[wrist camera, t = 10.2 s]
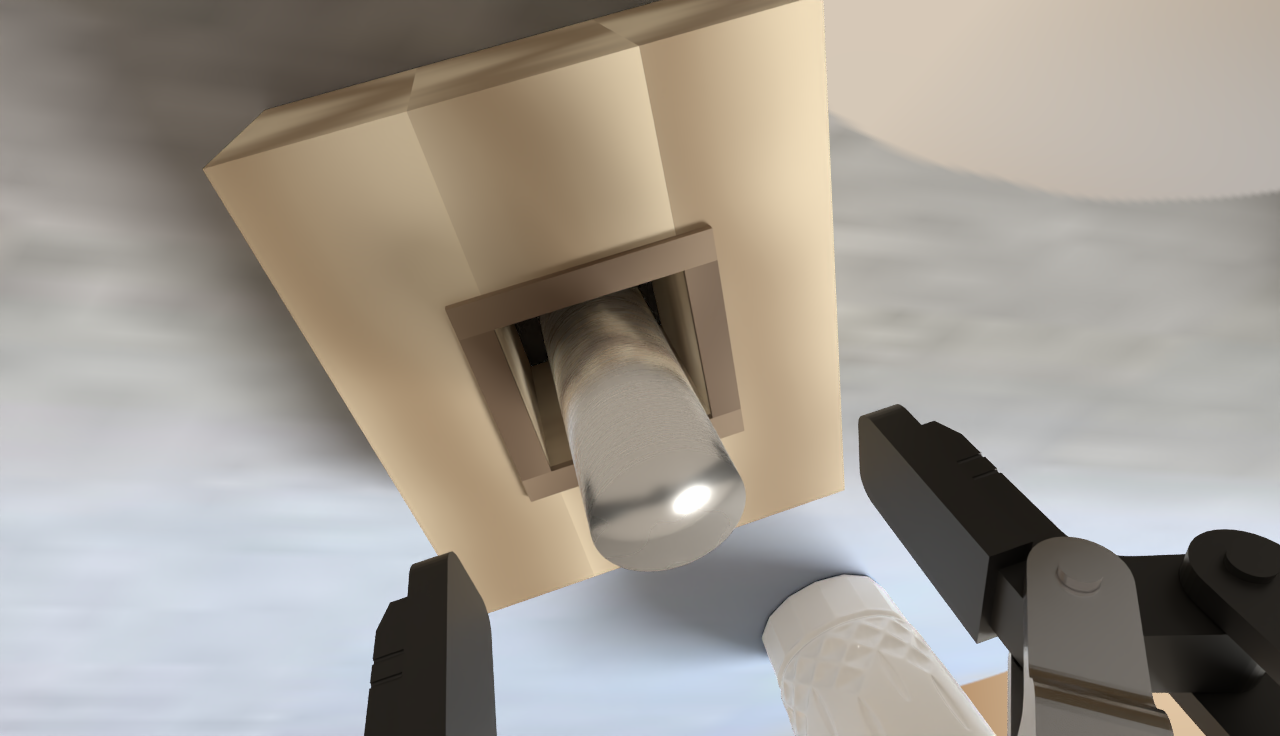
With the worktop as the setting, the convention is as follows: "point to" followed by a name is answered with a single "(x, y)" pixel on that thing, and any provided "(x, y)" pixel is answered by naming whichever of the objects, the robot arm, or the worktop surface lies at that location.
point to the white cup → (861, 667)
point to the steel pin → (639, 437)
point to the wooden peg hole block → (561, 258)
